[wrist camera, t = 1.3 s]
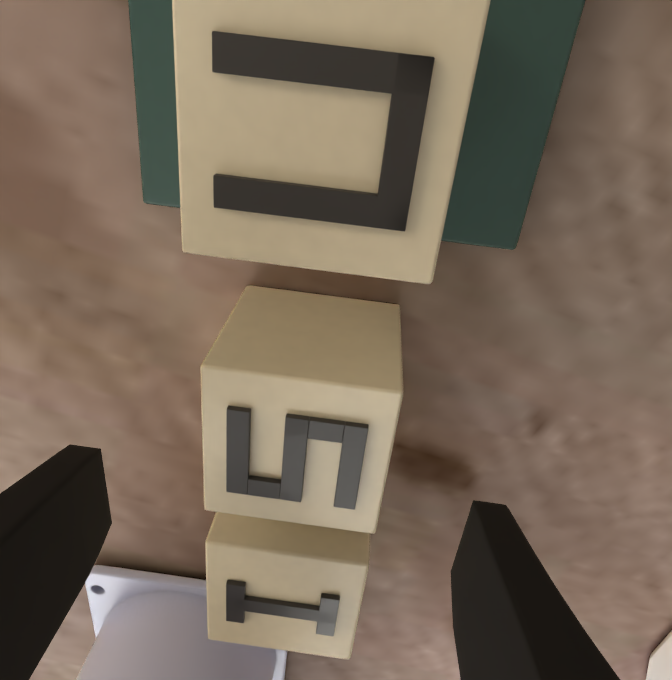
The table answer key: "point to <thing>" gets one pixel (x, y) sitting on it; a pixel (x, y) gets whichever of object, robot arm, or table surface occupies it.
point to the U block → (322, 129)
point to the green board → (480, 127)
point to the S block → (302, 408)
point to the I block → (285, 584)
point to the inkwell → (661, 661)
